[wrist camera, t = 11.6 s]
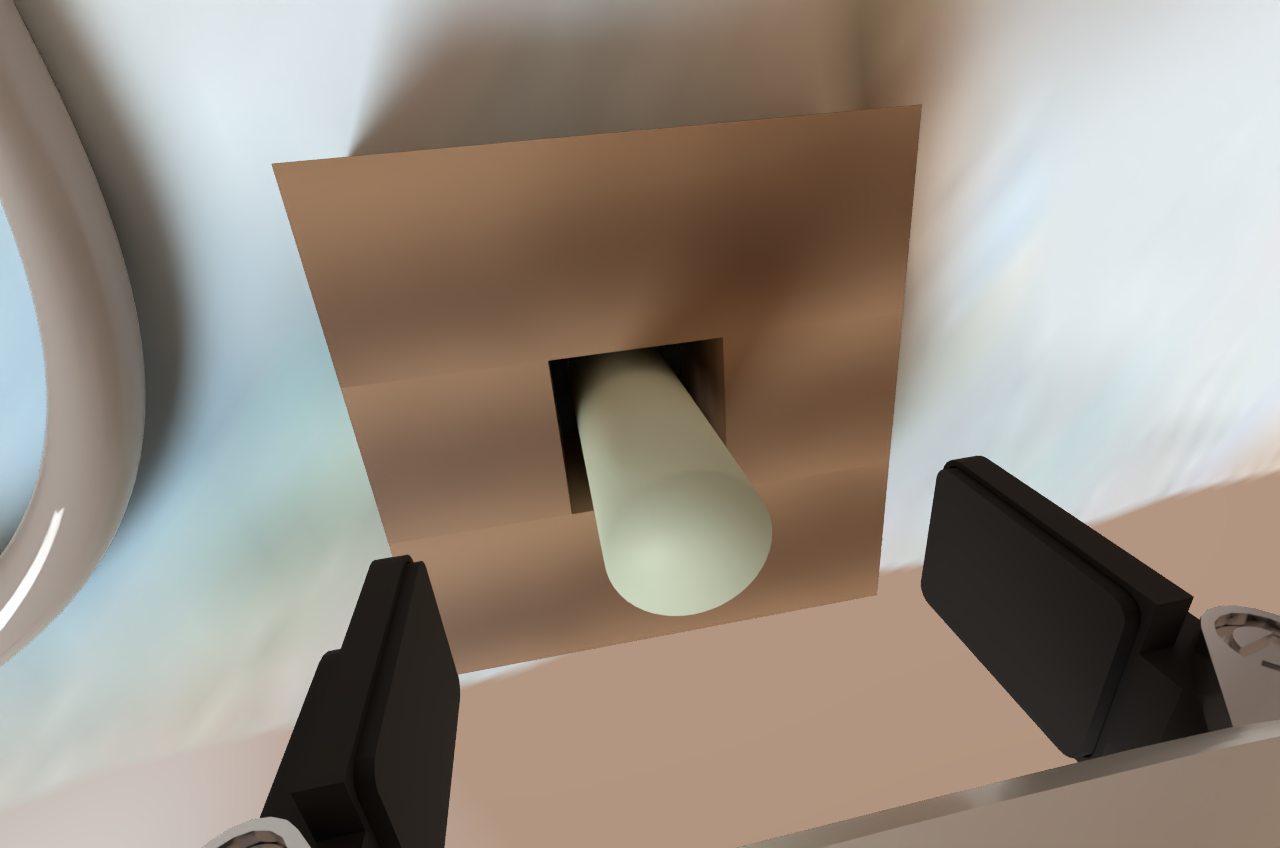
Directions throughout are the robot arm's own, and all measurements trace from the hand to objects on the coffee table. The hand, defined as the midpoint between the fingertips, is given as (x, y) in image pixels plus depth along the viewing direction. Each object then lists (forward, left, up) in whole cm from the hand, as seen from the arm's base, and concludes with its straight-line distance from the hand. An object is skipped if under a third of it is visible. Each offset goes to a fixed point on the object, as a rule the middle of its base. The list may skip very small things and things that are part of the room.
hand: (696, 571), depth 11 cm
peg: (+1, 0, -14) cm, 14 cm away
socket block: (+1, 0, -14) cm, 14 cm away
